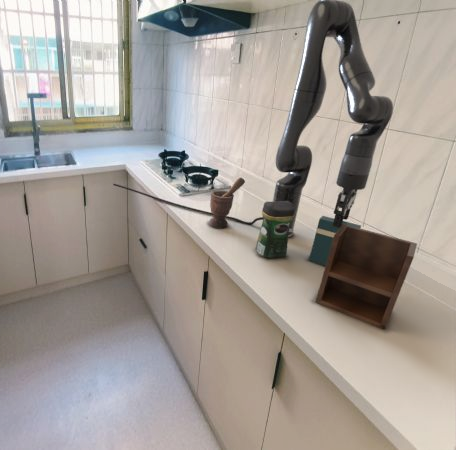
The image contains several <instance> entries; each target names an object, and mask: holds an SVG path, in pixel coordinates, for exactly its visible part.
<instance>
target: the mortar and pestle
mask: <svg viewBox="0 0 456 450" xmlns="http://www.w3.org/2000/svg"><path fill="white" fill-rule="evenodd" d="M244 184H246V180H245V179H244V178H243V177H239V178H237V179H236V181H235V182H234V183H233V184H232V186H231V188H229V190H220V189H218V190H212V191H211V193H210V202H209V207H210V208H209V209H210V213H212V214H213V215H212V216H213V217H211V218H210V219H209V221H208V225H210V226H211V227H212V228H216V229H224V228H227V227H228V221H227V219H226V218H225V216H228V215H229V214H230V211H231V209H232V207H233V201H234V197H235V196H234V194H235V193H236V192H237V191H238V190H239V189H240V188H241V187H242V186H243V185H244Z"/></svg>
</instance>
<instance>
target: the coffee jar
mask: <svg viewBox="0 0 456 450" xmlns="http://www.w3.org/2000/svg"><path fill="white" fill-rule="evenodd" d="M294 210H295V207H294V205H293V204H292V203H290V202H289V201H276V202H273V201H265V202H264V203H263V207H262V210H261V215H262V217H263V220H262V222H261V227H260V230H259V234H258V238H257V241H256V244H255V251H256V253H257V254H258V255H259V256H261V257H262V258H265V259H277V258H278V259H279V258H284V257H286V256H287V254H288V253H287V252H288V243H289V237H288V234H289V227H290V223H291V221H292V219H293V217H294Z"/></svg>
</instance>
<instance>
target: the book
mask: <svg viewBox="0 0 456 450" xmlns="http://www.w3.org/2000/svg"><path fill="white" fill-rule="evenodd" d="M334 218H335V217H334ZM334 218H333V217H329V216H326V215H322V216H321V217H319V219H318V223H317V227H316V231H315V235H314V239H313V243H312V247H311V251H310V254H309V258H308V261H309V262H312V263H315V264H318V265H321V266H324V267H325V266H326V263H327V259H328V256H329V252H330V249H331V245H332V242H333V238H334V235H335V234H336V232H337V231H338V230H339V229H340V228H341V227H340V228H338V227H334V226H333V222H334ZM343 224H345V225H349V226H352V227H356V228H360V229H362V225H360V224H357V223H352V222H349V221H346V220H345V221H344V220H343V222H342V225H343ZM342 225H341V226H342Z"/></svg>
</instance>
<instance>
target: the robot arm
mask: <svg viewBox="0 0 456 450" xmlns="http://www.w3.org/2000/svg"><path fill="white" fill-rule="evenodd" d="M326 38H331V39H332V38H333V40H334V41H335V42H336V45H338V47H339V51H340V52H339V53H340V55H339V60H338V69H337V70H338V73H339V74H338V75H339V78H340V80H341V83H342V85H343V88H344V91H345V93H346V106H347V114H348V116H349V118H350V119H351V120H352V121H353V122H354V123H356V124H360V125H362V126H361V128H360V129H359V130H358V131H355V132H352V133H351V134H350V135H349V137H348V140H347V143H346V148H345V151H344V154H343V157H342V158H341V159H342V160H341V163H340V167H339V170H338V175H337V178H336V182H335V183H336V185H337V186H338V187H341V188H342V190H341V191H340V192H339V193H338V195H337V200H336V203H335V207H334V210H333V215H334V222H333V226H334V227H338V228H340V227H341V225H342V222H343V221H344V220H345V221H346V220H348V219H349V216H350V213H351V210H352V208H353V205H355V202H356V198H357V195H358V190H359V191H361V190H365V188H366V186H367V184H368V183H367V182H368V179H369V176H370V172H371V170H372V169H371V168H372V165H373V159H374V156H375V151H376V148H377V144H378V142H379V140H380V138H381V137H382V135H383V133H384V132H385V130H386V128H387V126H388V125H389V122H390V121H391V119H392V116H393V114H394V104H393V103H394V102H393V100H392V99H391V98H389V97H388V96H385V95H372V94H371V92H370V91H372V90H373V88H374V87H375V85H376V79H375V75H374V73H373V71H372V68H371V67H370V64H369V62H368V60H367V57H366V56H365V52H364V50H363V46H362V42H361V37H360V31H359V28H358V24H357V19H356V14H355V11H354V8H353V6H352V4H351V3H349V2H347V1H344V0H318V1H317V2H316V3H315V4H314V5H313V7H312V8H311V10H310V12H309V15H308V19H307V22H306V29H305V35H304V42H303V49H302V53H301V54H302V55H301V60H300V65H299V70H298V74H297V79H296V82H295V86H294V89H293V93H292V98H291V102H290V108H289V112H288V116H287V120H286V123H285V127H284V129H283V133H282V136H281V139H280V142H279V145H278V148H277V150H276V155H275V167H276V169H277V171H278V172H280V173H286V175H285V176H284V177H282V178H279V179H278V180H276V183H275V187H274V192H273V198H272V202H276V201H289V202H290V203H292V204H293V205H294V207H295V210H294V217H293V219H292V221H291V223H290V227H289V234H288V238H290V237H292V236H293V234H294V229H295V225H296V224H295V223H296V219H297V215H298V210H299V207H300V202H301V198H302V193H303V189H304V187H305V186H306V184H307V181H308V177H309V174H310V171H311V167H312V163H313V152H312V150H311V148H310V147H309V146H307V145H301V144H300V145H298V144H299V141H300V137H301V136H302V134H303V132H304V130H305V129H306V128H307V127H308V125H310V123H311V122H312V120H313V119H314V118H315V117H316V116H317V114H318V113H319V111H320V110H321V107H322V105H323V101H324V99H325V94H326V91H327V76H326V71H325V68H324V61H323V51H324V47H325V42H326ZM112 186H115V187H117V188H118V187H119V188H121V189H125V190H127V191H131V192H133V193H136V194H139V195H142V196H145V197H148V198H151V199H154V200H157V201H160V202H163V203H166V204H169V205H172V206H176V207H179V208H183V209H185V210H190V211H194V212H198V213H201V214H206V215H209V216H214V215H213V214H212V212H211V211H206V210H202V209H199V208H198V209H197V208H193V207H190V206H187V205H182V204H179V203H175V202H172V201H169V200H166V199H162V198H160V197H156V196H154V195H151V194H148V193H145V192H143V191H142V192H141V191H139V190H137V189H134V188H130V187H127V186H125V185H121V184H117V183H112ZM340 209H341V210H340ZM225 219H226V220H227V219H228V220H232V221H235V222H238V223H241V224H244V225H249V226H250V225H251V226H252V225H254V224H255V223H256V222H257V221H263V216H261V217H256V218H255V219H253V220H252V221H250V222H248V221H244V220H241V219H239V218H237V217H233V216H228V215H227V216H225Z"/></svg>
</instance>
